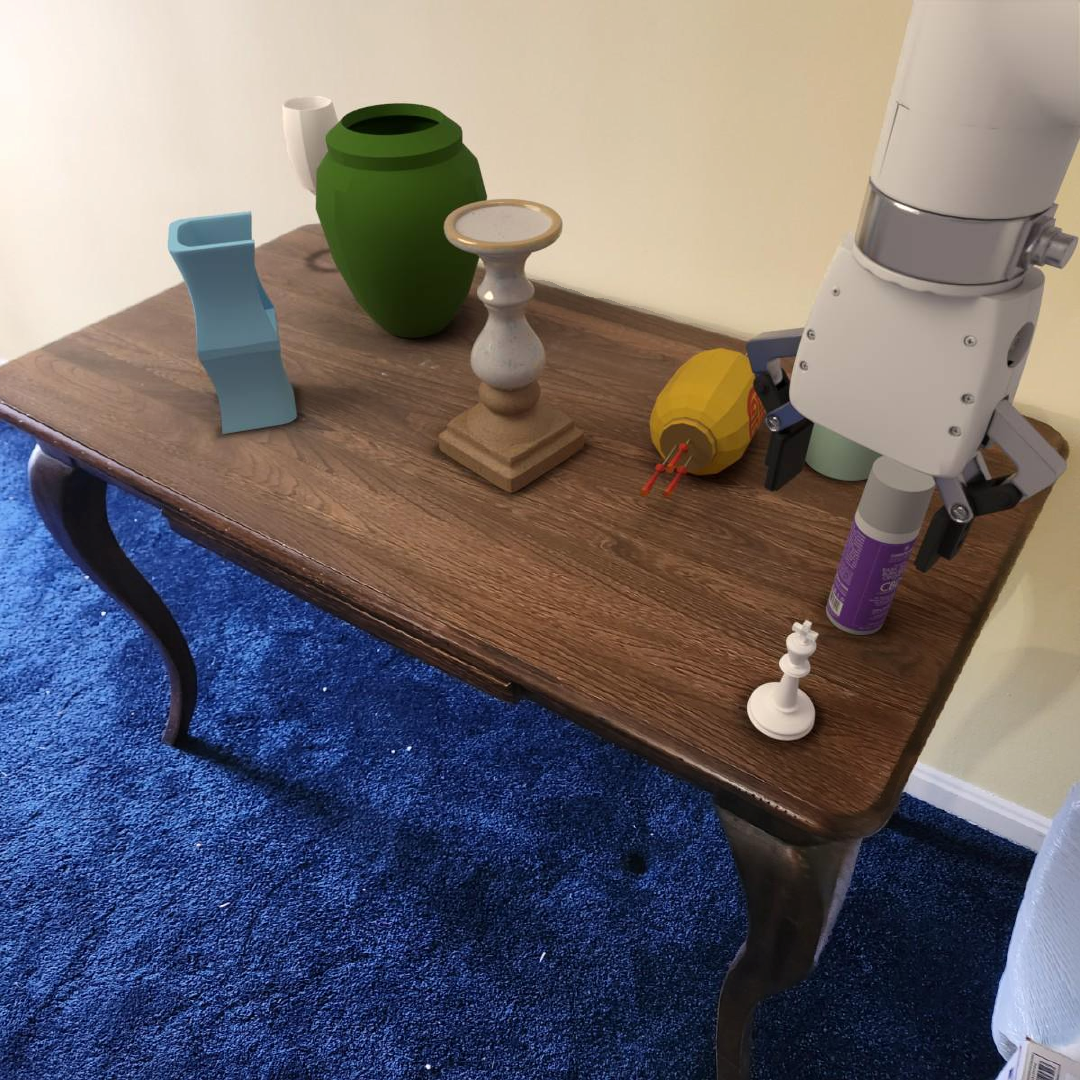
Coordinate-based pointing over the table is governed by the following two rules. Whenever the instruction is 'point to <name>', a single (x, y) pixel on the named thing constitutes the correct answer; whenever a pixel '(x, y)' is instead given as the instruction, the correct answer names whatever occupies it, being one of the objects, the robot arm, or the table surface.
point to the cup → (307, 135)
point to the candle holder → (507, 351)
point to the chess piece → (787, 691)
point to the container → (878, 546)
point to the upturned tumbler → (839, 455)
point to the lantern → (705, 416)
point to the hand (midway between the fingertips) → (853, 517)
